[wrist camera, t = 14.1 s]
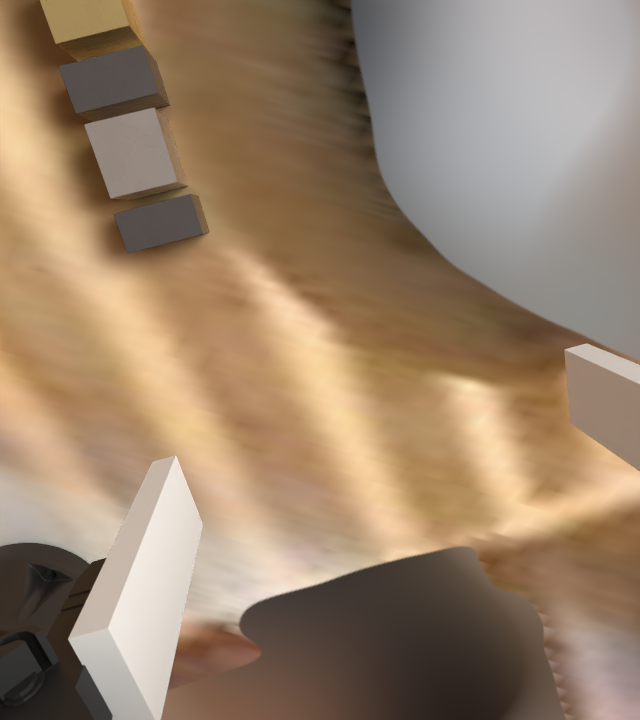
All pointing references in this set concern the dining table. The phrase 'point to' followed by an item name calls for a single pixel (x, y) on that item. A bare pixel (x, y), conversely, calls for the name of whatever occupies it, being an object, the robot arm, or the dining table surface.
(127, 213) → the dark grey cubes
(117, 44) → the yellow cube
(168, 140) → the light gray cube
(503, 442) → the dining table surface
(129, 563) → the robot arm
